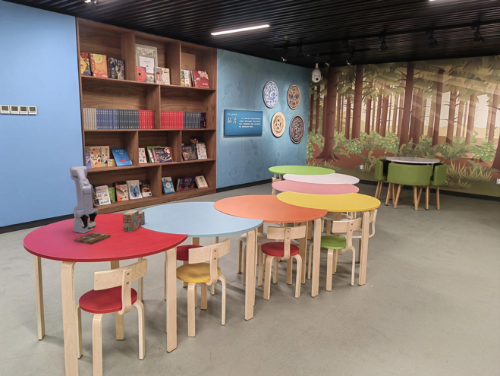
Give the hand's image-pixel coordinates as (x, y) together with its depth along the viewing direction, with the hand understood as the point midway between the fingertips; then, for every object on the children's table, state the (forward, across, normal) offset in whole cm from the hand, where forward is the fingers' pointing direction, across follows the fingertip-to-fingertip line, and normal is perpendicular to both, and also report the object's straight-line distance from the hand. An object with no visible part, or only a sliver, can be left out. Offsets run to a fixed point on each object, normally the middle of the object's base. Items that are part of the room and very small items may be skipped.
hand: (88, 225), depth 240 cm
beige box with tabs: (+2, 0, 0) cm, 2 cm away
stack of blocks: (+9, +34, -7) cm, 36 cm away
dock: (+9, +1, -2) cm, 9 cm away
